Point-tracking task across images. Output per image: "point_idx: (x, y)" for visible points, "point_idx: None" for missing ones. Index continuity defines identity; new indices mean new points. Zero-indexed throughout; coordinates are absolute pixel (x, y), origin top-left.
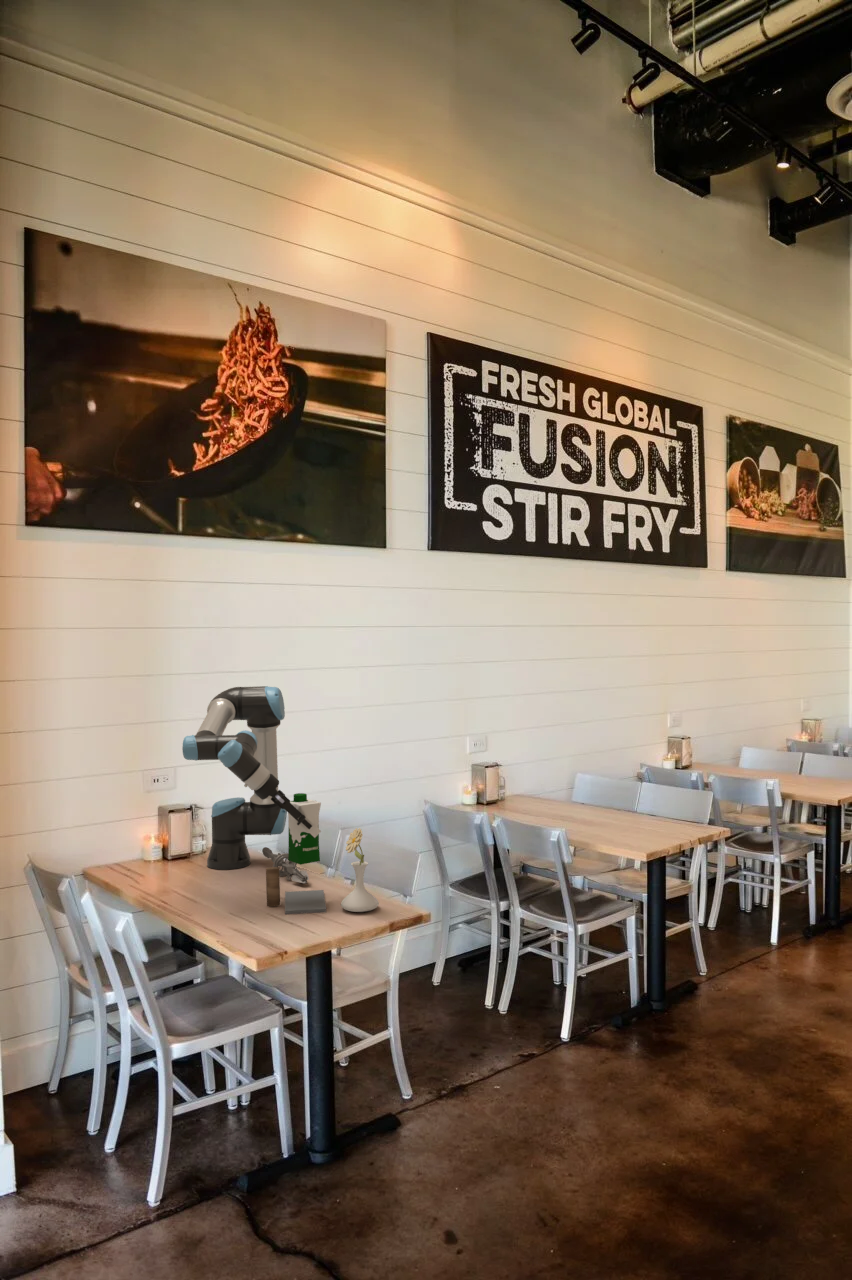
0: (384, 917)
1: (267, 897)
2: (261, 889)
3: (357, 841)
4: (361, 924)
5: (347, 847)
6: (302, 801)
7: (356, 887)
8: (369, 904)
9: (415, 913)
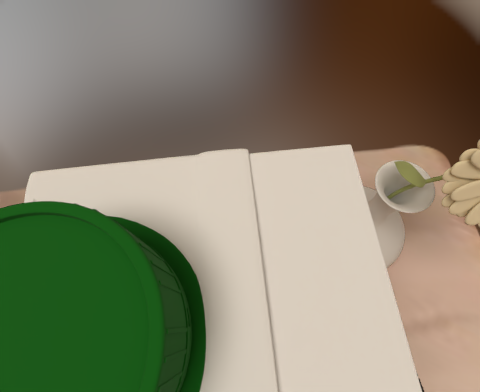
0: (432, 215)
1: None
2: None
3: None
4: (464, 283)
5: (477, 213)
6: (191, 354)
7: (377, 224)
8: (402, 222)
9: (430, 153)
